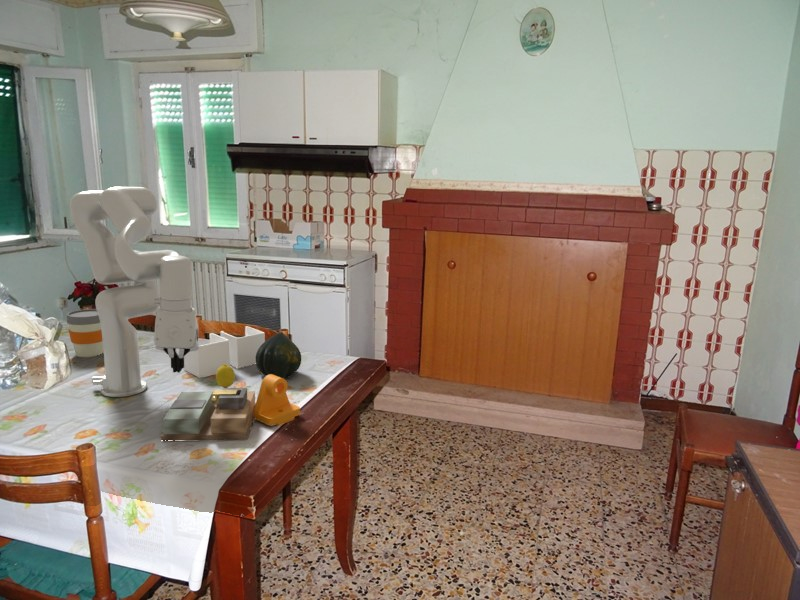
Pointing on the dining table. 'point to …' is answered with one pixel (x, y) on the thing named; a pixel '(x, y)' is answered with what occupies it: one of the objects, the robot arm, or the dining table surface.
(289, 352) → the squash
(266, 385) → the bracket
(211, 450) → the dining table surface
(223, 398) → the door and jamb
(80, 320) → the reusable coffee cup
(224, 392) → the brass bolt
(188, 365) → the storage container
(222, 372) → the lemon
